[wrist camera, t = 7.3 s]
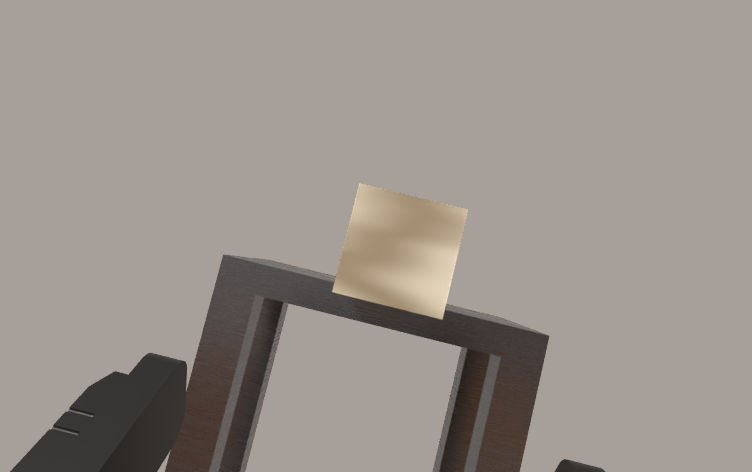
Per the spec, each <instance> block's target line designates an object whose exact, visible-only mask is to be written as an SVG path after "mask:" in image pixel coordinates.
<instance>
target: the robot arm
mask: <svg viewBox="0 0 752 472" xmlns="http://www.w3.org/2000/svg"><path fill="white" fill-rule="evenodd" d="M186 377H187V364H186V362H185V361H181V360H177V359H173V358H169V357H165V356H161V355H157V354H153V353H148V354H147V355H145V356H144V357H143V358H142V359H141V361H140V362H139V363H138V364H137V365H136V366H135V368H134V369H133V370H132V371H131V372H130V374H129V375H127V374H123V373H119V372H113V373H111V374H110V375H108V376H106V377H104V378H103V379H101V380H99V381H98V382H96V383H94V384H93V385H91V386H89V387H88V388H87V389H86V390H85V391H84V392H83V394H82V395H81V396H80V397H79V398H78V399H77V400H76V401H75V402H74V403H73V404H72V405H71V407H70V409H69V411H68V412H65V413H64V414H63V415H62V416H61V417H60V418H59V419H58V421H57V422H56V423H55V424H54V426H53V428H52V429H51V430H49V431H47V432H46V434H45V435H44V436H43V437H42V438H41V439H40V440H39V441H38V442H37V443H36V444H35V445H34V447H33V448H32V449H31V450H30V451H29V452H28V453H27V454H26V455H25V456H24V457H23V458H22V460H21V461H20V462H19V463H18V464H17V465H16V466H15V467H14V468H13V469H12V471H10V472H157V471H158V469H159V468H160V466H161V464H162V463H163V461H164V459H165V458H166V456H167V455H168V453H169V451H170V450H171V448H172V447H173V445H174V443H175V441H176V439H177V437H178V435H179V433H180V430H181V427H182V424H183V420H184V416H185V401H186ZM555 472H605V471H604V470H603V469H601V468H598V467H594V466H590V465H586V464H582V463H578V462H574V461H570V460H566V459H564V460H562V461H561V462H560V464H559V465H558V467H557V469H556V471H555Z"/></svg>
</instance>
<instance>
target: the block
mask: <svg viewBox="0 0 752 472" xmlns="http://www.w3.org/2000/svg"><path fill="white" fill-rule="evenodd" d="M467 213H468V210H467V209H463V208H459V207H455V206H450V205H447V204H442V203H439V202H434V201H430V200H426V199H422V198H418V197H414V196H410V195H405V194H402V193H397V192H393V191H389V190H385V189H381V188H377V187H373V186H368V185H365V184H359V187H358V191H357V195H356V199H355V203H354V207H353V211H352V215H351V219H350V223H349V227H348V231H347V235H346V239H345V243H344V247H343V251H342V255H341V259H340V263H339V267H338V271H337V274H336V278H335V282H334V286H333V290H332V292H334V293H338V294H342V295H346V296H350V297H354V298H358V299H362V300H366V301H370V302H374V303H378V304H382V305H386V306H390V307H394V308H398V309H402V310H406V311H410V312H414V313H418V314H422V315H426V316H430V317H434V318H438V319H443V315H444V311H445V307H446V302H447V298H448V294H449V290H450V285H451V281H452V277H453V273H454V268H455V264H456V260H457V255H458V251H459V247H460V243H461V238H462V234H463V230H464V226H465V221H466V217H467Z"/></svg>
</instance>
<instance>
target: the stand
mask: <svg viewBox="0 0 752 472" xmlns="http://www.w3.org/2000/svg"><path fill="white" fill-rule="evenodd" d="M335 278H336V276H332V275H328V274H324V273H320V272H315V271H311V270H308V269H303V268H300V267H295V266H291V265H287V264H283V263H279V262H275V261H271V260H265V259H256V258H248V257H239V256H231V255H223V258H222V262H221V265H220V269H219V273H218V277H217V280H216V284H215V288H214V292H213V295H212V299H211V302H210V306H209V310H208V314H207V318H206V321H205V325H204V328H203V332H202V336H201V340H200V343H199V347H198V351H197V354H196V358H195V362H194V366H193V369H192V373H191V377H190V380H189V384H188V388H187V391H186V401H185V416H184V420H183V424H182V427H181V430H180V433H179V435H178V437H177V439H176V441H175V443H174V445H173V447H172V448H171V451H170V455H169V459H168V462H167V466H166V469H165V472H245V470H246V466H247V462H248V459H249V455H250V450H251V447H252V443H253V439H254V435H255V431H256V427H257V424H258V420H259V416H260V411H261V408H262V404H263V400H264V397H265V392H266V389H267V385H268V381H269V377H270V373H271V369H272V366H273V362H274V357H275V354H276V350H277V346H278V342H279V338H280V335H281V331H282V327H283V322H284V319H285V315H286V311H287V307H288V304H293V305H297V306H301V307H305V308H309V309H313V310H317V311H321V312H325V313H329V314H333V315H337V316H341V317H345V318H349V319H353V320H357V321H361V322H365V323H369V324H373V325H377V326H381V327H385V328H389V329H392V330H397V331H400V332H404V333H409V334H412V335H416V336H421V337H424V338H428V339H433V340H436V341H440V342H445V343H448V344H452V345H457V346H460V347H461V352H460V356H459V360H458V365H457V369H456V373H455V378H454V382H453V386H452V391H451V395H450V399H449V404H448V408H447V412H446V416H445V421H444V425H443V429H442V434H441V438H440V442H439V447H438V451H437V455H436V460H435V464H434V468H433V472H520V467H521V463H522V458H523V453H524V449H525V444H526V440H527V435H528V431H529V426H530V422H531V417H532V412H533V408H534V404H535V399H536V394H537V390H538V385H539V381H540V376H541V371H542V367H543V362H544V358H545V353H546V349H547V344H548V340H549V336H548V335H546V334H543V333H540V332H538V331H535V330H532V329H530V328H527V327H524V326H522V325H519V324H516V323H513V322H511V321H508V320H505V319H503V318H500V317H497V316H493V315H489V314H485V313H480V312H476V311H472V310H468V309H464V308H460V307H456V306H452V305H448V304H446V307H445V311H444V315H443V319H438V318H434V317H430V316H426V315H422V314H418V313H414V312H410V311H406V310H402V309H398V308H394V307H390V306H386V305H382V304H378V303H374V302H370V301H366V300H362V299H358V298H354V297H350V296H346V295H342V294H338V293H334V292H332V290H333V286H334V282H335Z"/></svg>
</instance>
